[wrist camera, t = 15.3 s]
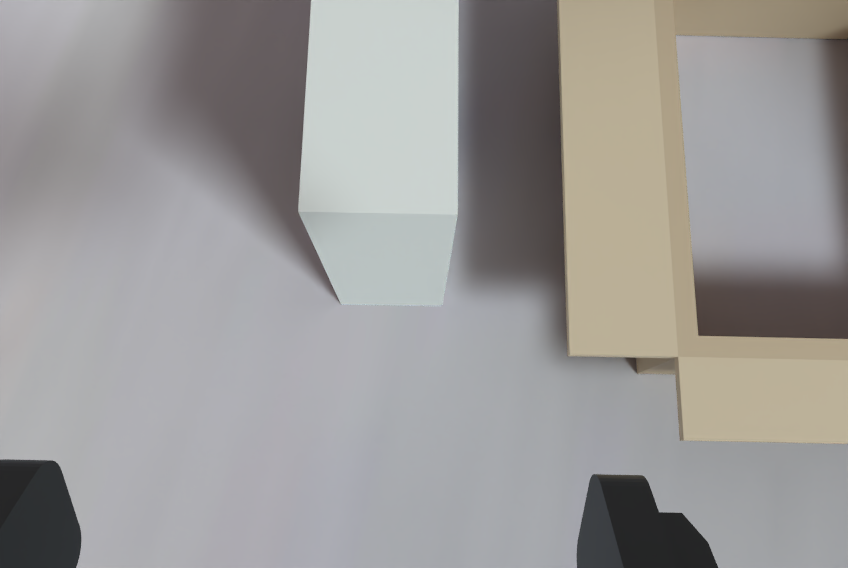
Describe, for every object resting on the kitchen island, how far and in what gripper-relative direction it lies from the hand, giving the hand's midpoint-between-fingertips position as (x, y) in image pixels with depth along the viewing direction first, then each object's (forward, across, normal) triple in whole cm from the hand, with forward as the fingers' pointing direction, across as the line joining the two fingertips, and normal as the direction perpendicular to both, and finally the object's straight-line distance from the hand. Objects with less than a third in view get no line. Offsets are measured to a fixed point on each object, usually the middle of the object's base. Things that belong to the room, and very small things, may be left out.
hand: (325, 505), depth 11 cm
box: (+23, 0, +5) cm, 23 cm away
